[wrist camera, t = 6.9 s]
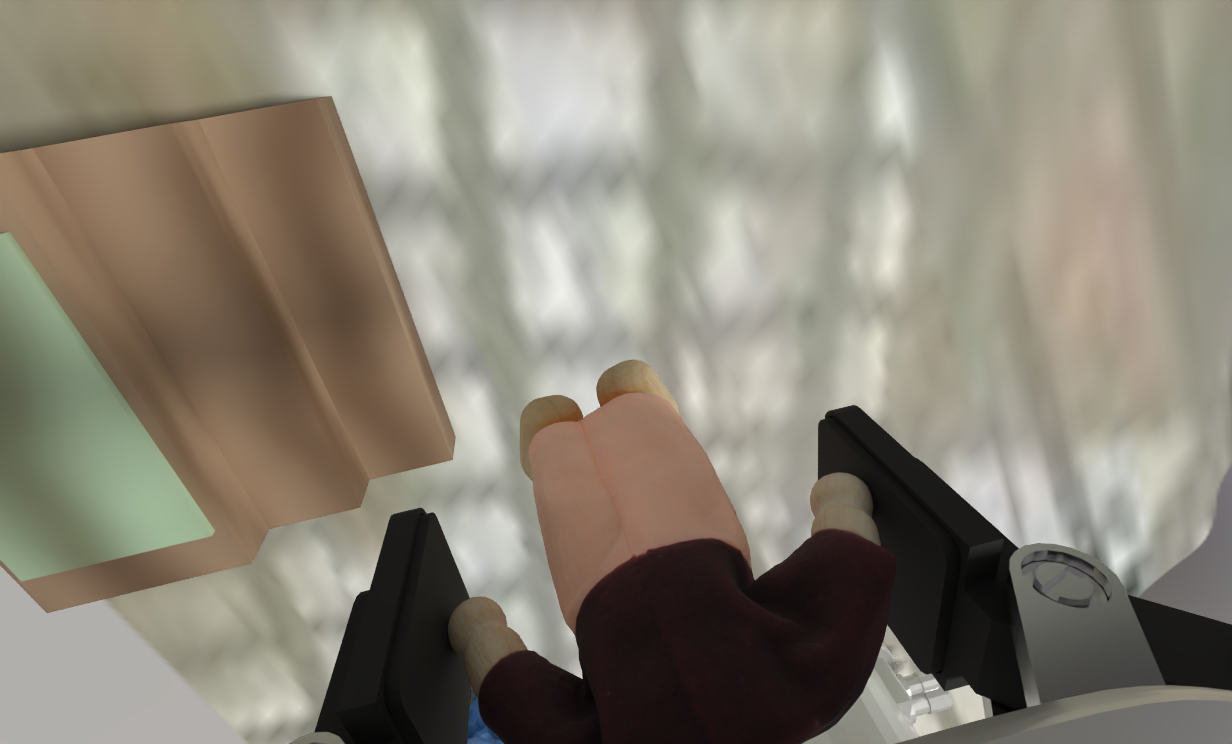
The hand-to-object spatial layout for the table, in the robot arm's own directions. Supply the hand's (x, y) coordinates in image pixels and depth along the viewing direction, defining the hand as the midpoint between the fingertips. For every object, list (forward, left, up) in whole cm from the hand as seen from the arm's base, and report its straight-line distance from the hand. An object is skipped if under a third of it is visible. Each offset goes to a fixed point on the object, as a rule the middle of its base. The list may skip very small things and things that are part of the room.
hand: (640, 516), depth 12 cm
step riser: (+15, -1, -17) cm, 23 cm away
